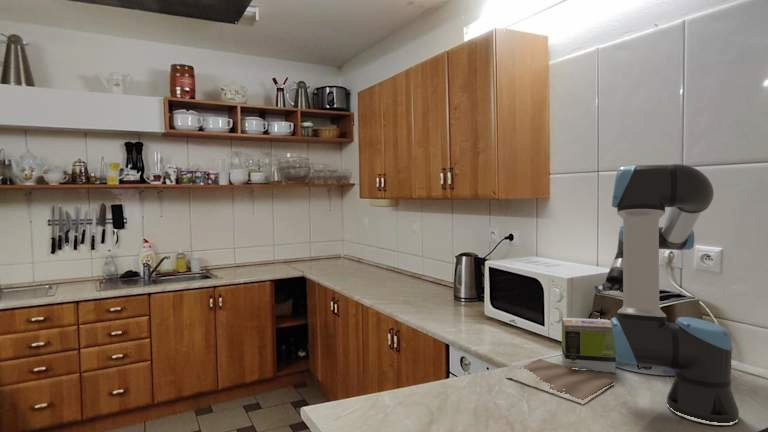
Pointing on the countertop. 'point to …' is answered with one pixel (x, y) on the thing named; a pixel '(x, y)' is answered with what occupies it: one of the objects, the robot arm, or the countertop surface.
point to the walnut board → (568, 379)
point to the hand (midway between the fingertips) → (598, 330)
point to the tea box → (588, 344)
